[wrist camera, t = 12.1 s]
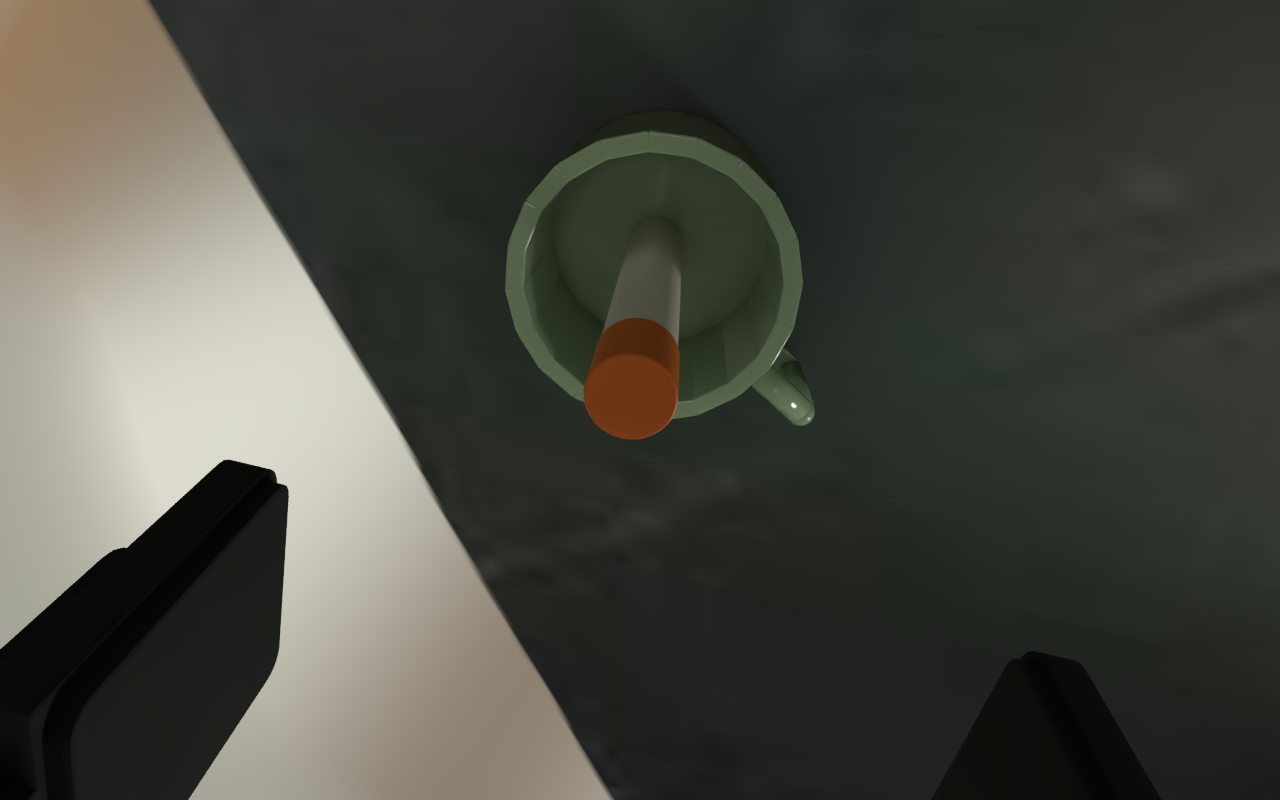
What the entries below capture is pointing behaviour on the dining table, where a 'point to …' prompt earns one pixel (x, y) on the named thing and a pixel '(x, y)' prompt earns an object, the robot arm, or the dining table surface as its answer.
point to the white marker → (640, 338)
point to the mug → (711, 259)
